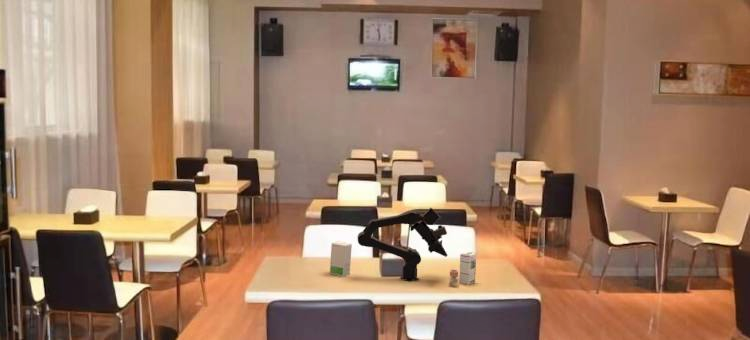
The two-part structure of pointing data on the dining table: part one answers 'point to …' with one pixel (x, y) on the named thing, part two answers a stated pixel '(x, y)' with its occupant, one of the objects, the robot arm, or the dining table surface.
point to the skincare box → (340, 258)
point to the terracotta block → (454, 273)
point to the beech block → (453, 281)
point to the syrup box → (467, 268)
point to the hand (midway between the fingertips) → (446, 256)
